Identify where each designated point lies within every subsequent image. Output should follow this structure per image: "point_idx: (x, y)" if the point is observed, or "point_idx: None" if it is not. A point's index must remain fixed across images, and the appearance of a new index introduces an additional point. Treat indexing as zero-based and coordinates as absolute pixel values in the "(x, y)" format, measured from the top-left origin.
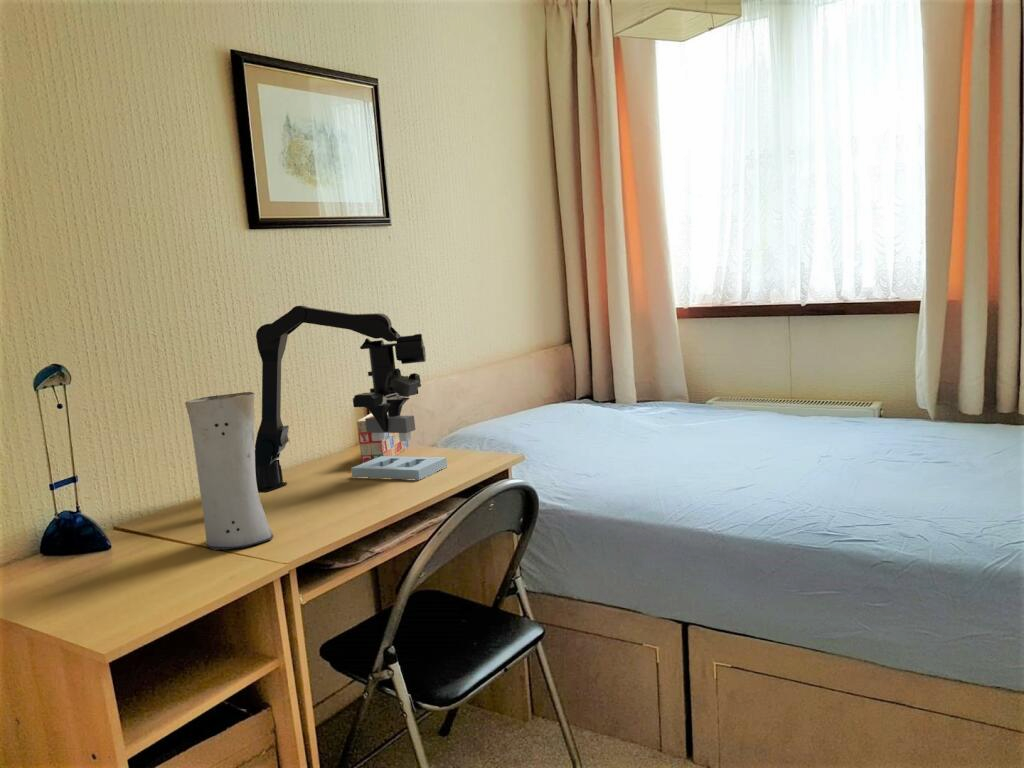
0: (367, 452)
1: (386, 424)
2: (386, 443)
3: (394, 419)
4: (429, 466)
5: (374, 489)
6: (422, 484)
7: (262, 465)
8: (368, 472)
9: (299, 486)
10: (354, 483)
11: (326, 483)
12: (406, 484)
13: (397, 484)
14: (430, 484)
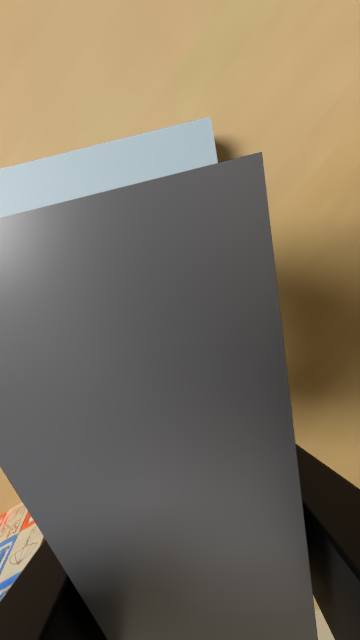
0: None
1: (302, 458)
2: (39, 546)
3: (284, 424)
4: (115, 142)
5: (345, 226)
6: (242, 62)
7: None
8: None
9: (356, 474)
10: (299, 361)
11: (317, 437)
12: (262, 148)
13: (271, 191)
14: (230, 13)
